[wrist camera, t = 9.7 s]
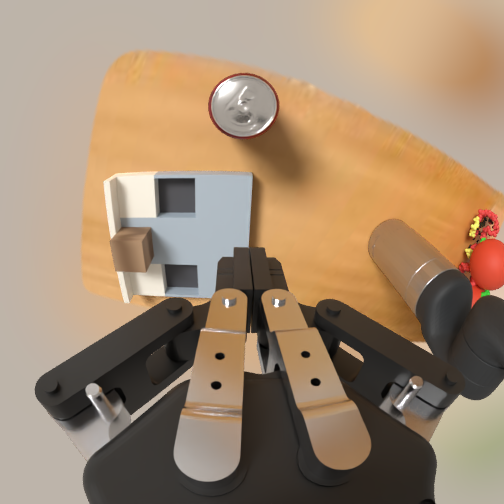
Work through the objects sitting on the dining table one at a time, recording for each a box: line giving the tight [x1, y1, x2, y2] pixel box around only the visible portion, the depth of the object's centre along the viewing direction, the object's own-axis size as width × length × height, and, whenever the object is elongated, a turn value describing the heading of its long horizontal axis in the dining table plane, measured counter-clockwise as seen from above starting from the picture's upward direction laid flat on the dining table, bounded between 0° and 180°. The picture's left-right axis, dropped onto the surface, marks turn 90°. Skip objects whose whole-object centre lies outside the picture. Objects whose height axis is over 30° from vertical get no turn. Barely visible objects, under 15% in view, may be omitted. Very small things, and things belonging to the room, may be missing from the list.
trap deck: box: [111, 171, 253, 298], centre depth 43 cm, size 21×21×2 cm
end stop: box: [103, 177, 133, 303], centre depth 40 cm, size 1×21×2 cm, turn 177°
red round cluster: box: [459, 209, 504, 307], centre depth 44 cm, size 25×11×16 cm, turn 175°
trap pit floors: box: [158, 178, 198, 288], centre depth 44 cm, size 6×20×1 cm, turn 177°
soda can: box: [208, 73, 279, 139], centre depth 30 cm, size 7×7×12 cm
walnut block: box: [110, 227, 154, 273], centre depth 39 cm, size 5×5×5 cm
